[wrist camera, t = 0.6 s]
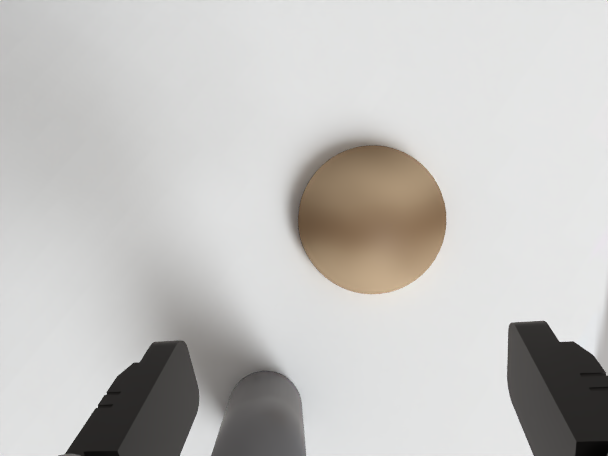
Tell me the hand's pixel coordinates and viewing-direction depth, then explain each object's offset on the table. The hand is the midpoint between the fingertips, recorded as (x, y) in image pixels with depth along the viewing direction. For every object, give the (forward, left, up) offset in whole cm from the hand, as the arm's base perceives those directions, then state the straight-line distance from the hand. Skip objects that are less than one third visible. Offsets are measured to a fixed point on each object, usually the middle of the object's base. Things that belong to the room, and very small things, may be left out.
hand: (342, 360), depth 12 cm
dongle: (+7, -4, -18) cm, 20 cm away
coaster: (-3, +5, -18) cm, 19 cm away
